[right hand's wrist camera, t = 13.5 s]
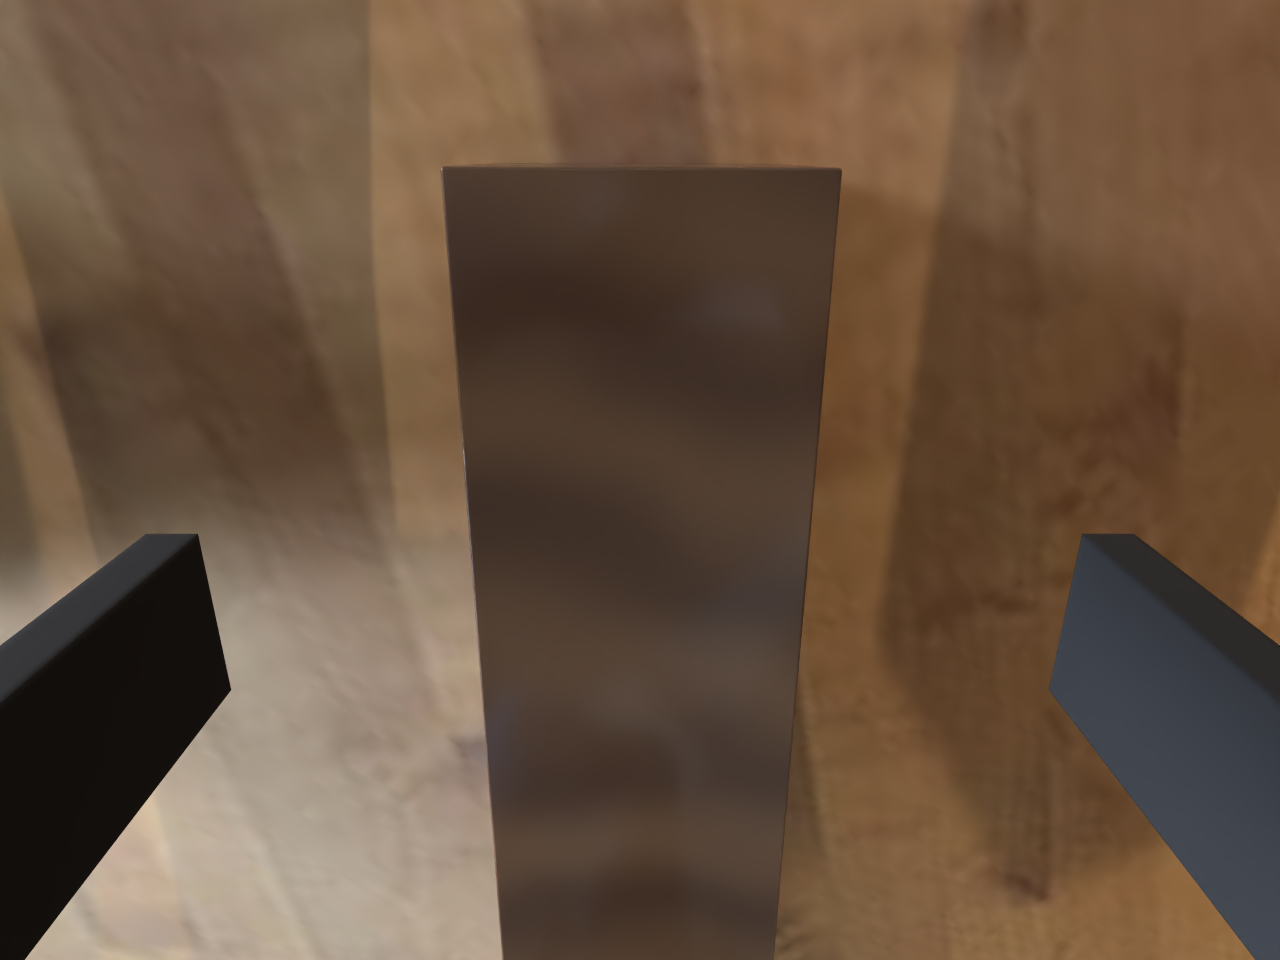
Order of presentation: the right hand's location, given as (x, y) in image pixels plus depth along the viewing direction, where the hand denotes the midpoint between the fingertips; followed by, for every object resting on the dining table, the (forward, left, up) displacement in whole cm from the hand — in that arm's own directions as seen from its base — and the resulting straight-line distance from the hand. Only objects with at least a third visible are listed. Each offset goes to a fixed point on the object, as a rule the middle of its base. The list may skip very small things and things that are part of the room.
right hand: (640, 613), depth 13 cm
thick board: (+2, -24, -17) cm, 30 cm away
